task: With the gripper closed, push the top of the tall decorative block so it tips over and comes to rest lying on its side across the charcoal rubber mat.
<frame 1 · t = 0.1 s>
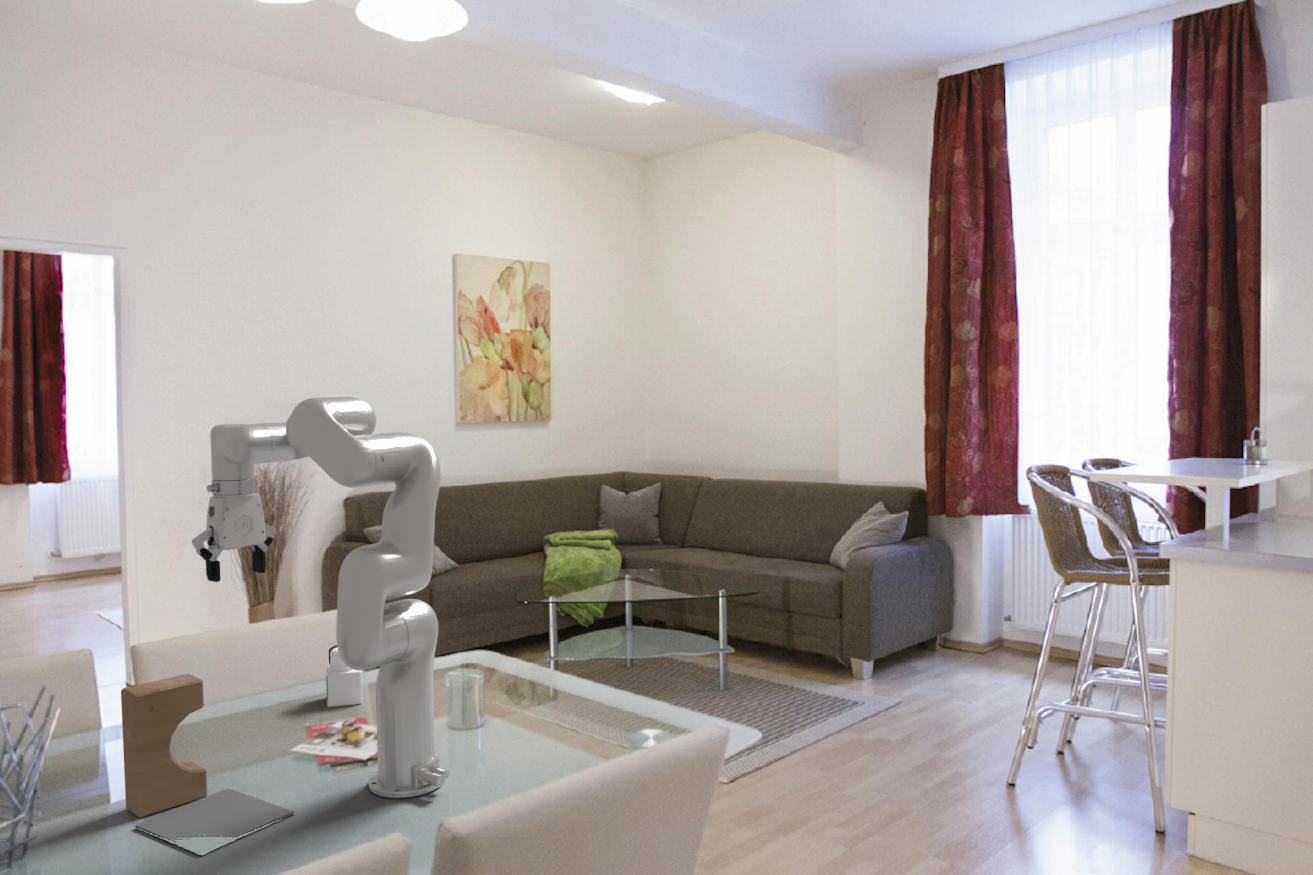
hand: (236, 576, 192), 31 cm above the table, tool pointing down, fingers open, 9 cm apart
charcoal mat: (215, 821, 156), on the table
decorative block: (167, 804, 163), on the table
medicine bottle: (344, 701, 214), on the table
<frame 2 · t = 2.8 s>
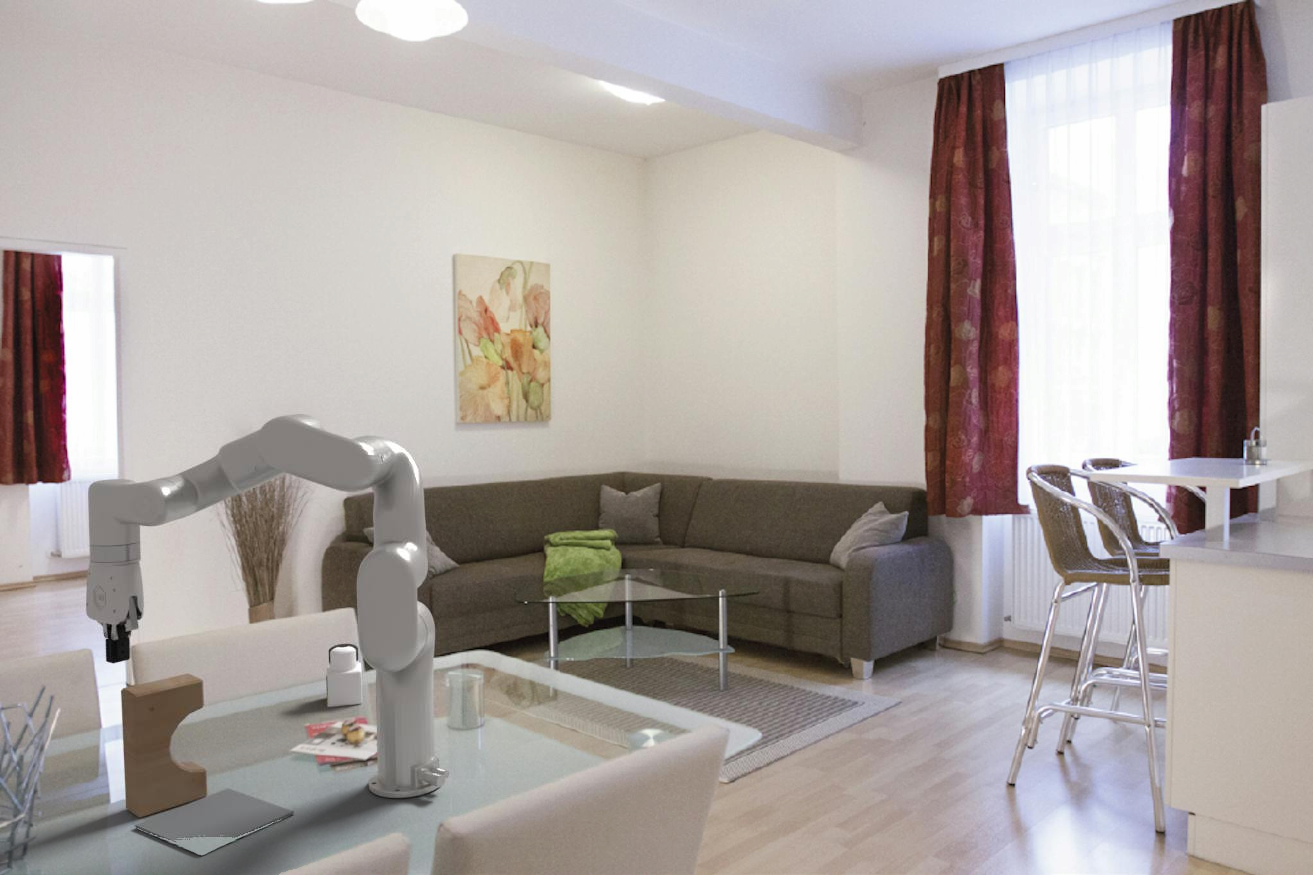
hand: (118, 660, 168), 22 cm above the table, tool pointing down, fingers closed
nothing on the table moved.
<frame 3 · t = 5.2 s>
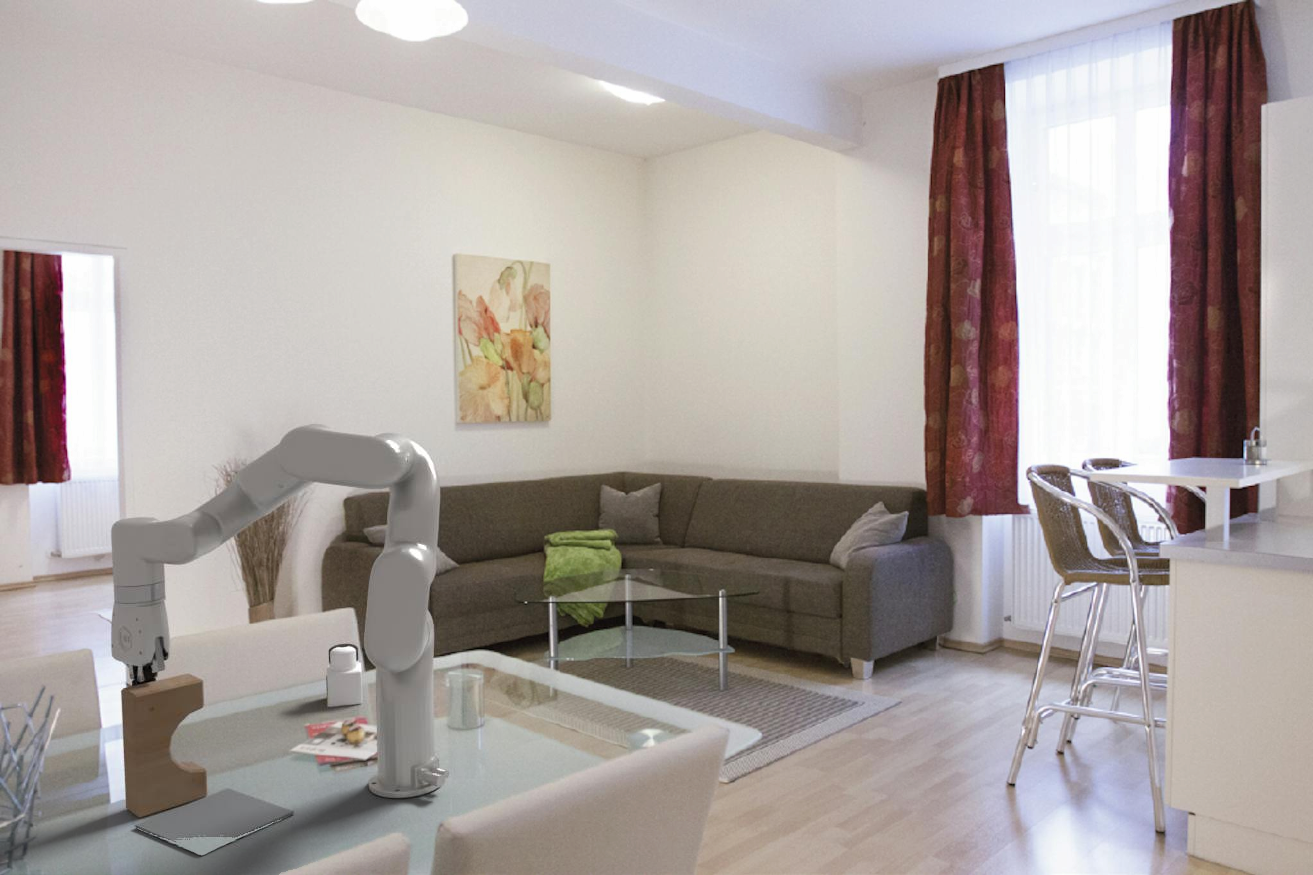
hand: (144, 702, 165), 16 cm above the table, tool pointing down, fingers closed
decorative block: (167, 804, 163), on the table, touching gripper
everything else where it was.
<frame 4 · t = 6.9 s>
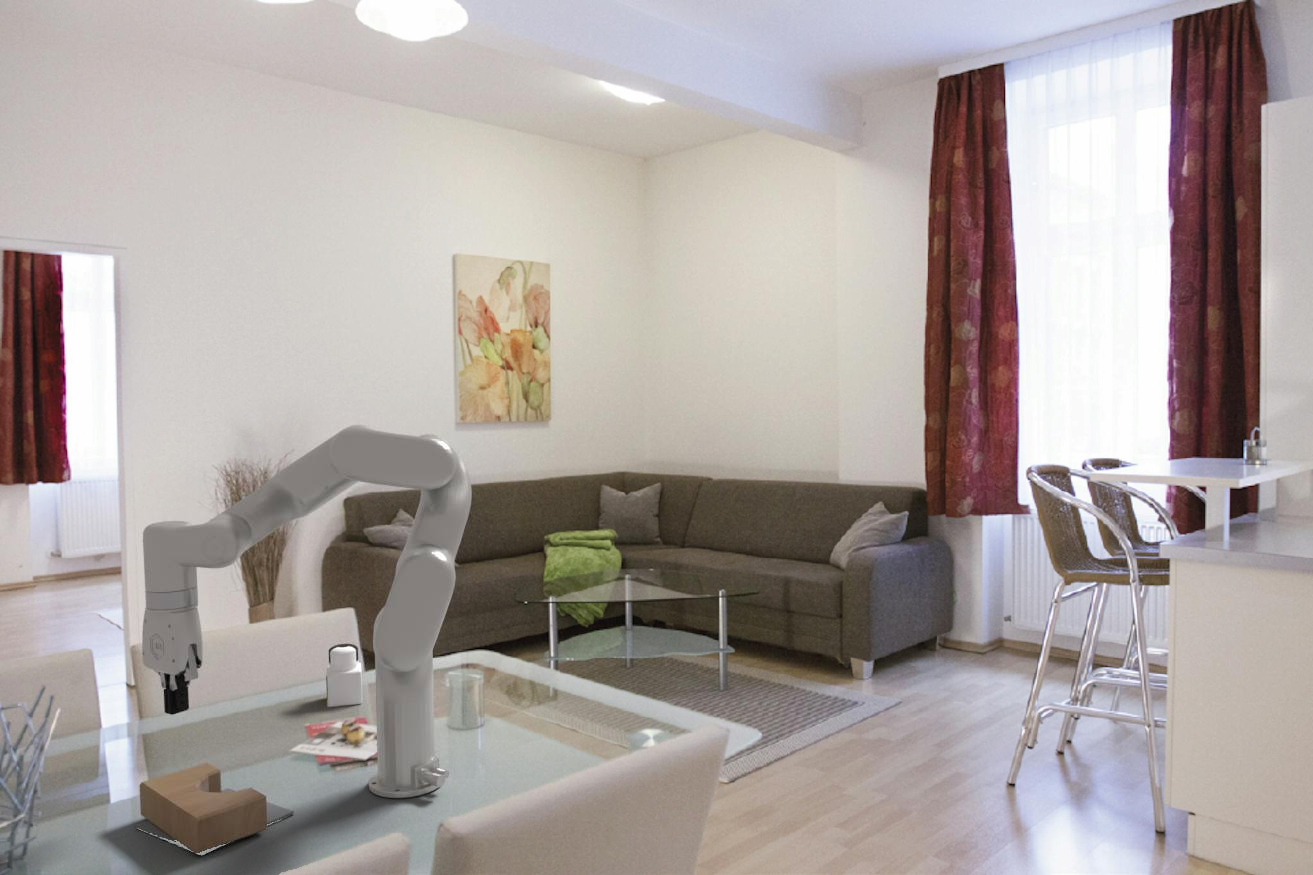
hand: (176, 711, 160), 16 cm above the table, tool pointing down, fingers closed
decorative block: (174, 787, 161), point 3 cm above the table, touching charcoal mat
everything else where it was.
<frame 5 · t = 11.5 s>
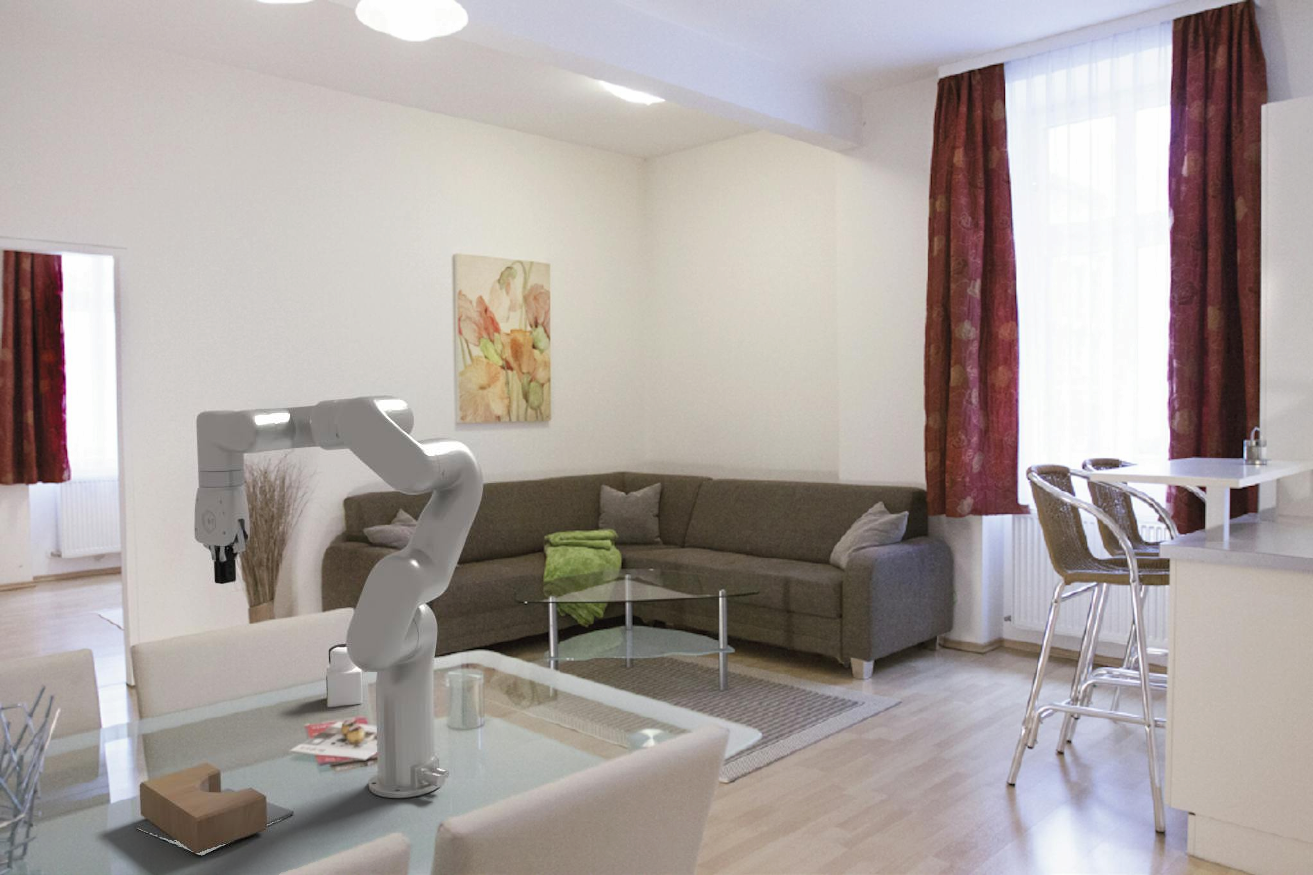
hand: (225, 582, 177), 33 cm above the table, tool pointing down, fingers closed
nothing on the table moved.
at the end: decorative block tilted 90°; decorative block touching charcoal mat; decorative block inside the target area (0.5 cm from its centre), point 3.3 cm above the table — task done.
